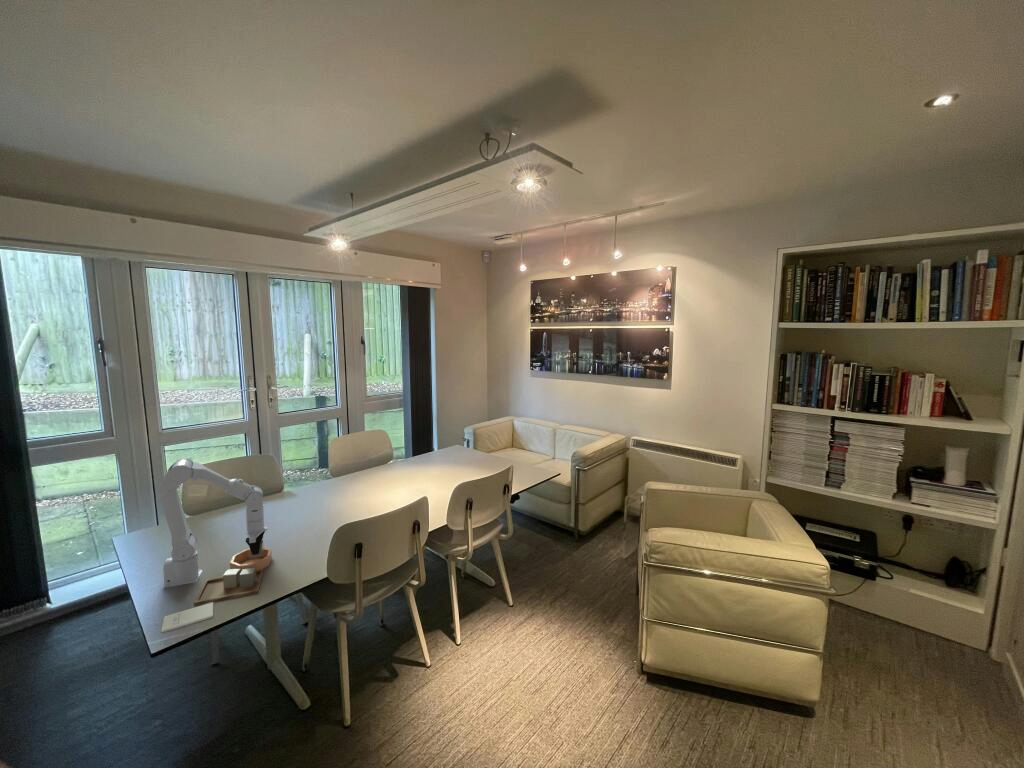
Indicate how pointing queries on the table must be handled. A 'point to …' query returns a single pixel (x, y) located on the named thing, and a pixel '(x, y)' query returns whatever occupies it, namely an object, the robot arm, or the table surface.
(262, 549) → the stone
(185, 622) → the external hard drive
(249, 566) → the bowl
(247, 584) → the stone
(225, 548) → the table surface
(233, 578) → the stone
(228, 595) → the tray
